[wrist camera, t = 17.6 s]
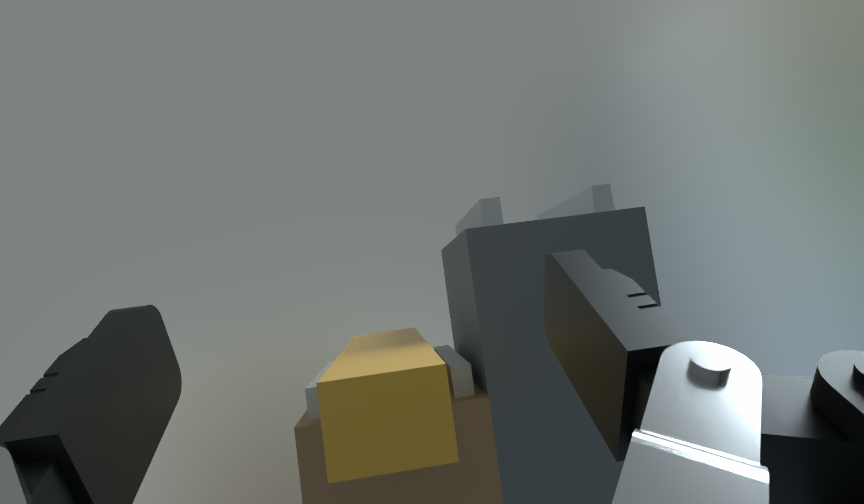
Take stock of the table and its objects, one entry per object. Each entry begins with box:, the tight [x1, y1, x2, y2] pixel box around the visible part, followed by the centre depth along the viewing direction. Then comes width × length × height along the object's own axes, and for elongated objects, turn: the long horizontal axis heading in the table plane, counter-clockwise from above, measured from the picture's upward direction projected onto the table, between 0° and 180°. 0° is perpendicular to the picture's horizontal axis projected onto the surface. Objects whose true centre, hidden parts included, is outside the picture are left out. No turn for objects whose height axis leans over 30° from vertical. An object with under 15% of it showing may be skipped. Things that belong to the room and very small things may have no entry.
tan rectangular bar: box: [316, 328, 459, 483], centre depth 26 cm, size 19×4×3 cm, turn 5°
